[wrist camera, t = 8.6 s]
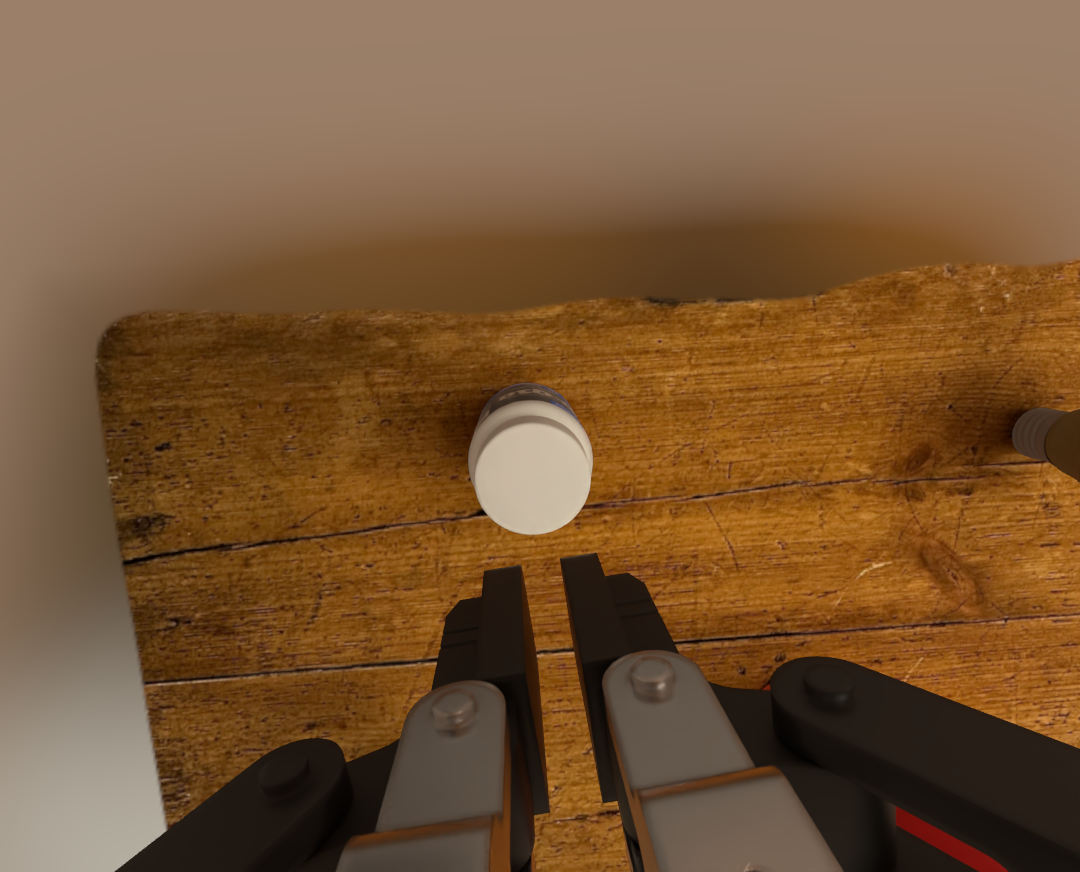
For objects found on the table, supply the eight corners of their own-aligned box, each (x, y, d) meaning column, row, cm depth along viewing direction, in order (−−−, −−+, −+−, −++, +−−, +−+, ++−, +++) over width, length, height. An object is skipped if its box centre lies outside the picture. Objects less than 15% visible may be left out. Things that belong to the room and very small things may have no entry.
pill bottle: (589, 396, 28) (621, 432, 20) (560, 489, 29) (581, 560, 20) (491, 369, 27) (482, 394, 19) (465, 464, 28) (447, 528, 20)
